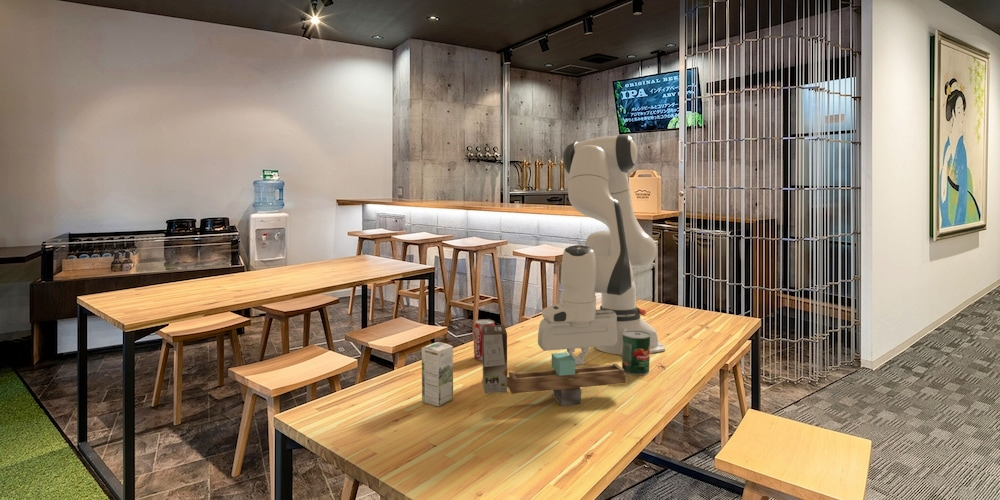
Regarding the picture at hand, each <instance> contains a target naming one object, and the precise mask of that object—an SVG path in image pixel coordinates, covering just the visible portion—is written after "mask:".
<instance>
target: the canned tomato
mask: <svg viewBox="0 0 1000 500" xmlns="http://www.w3.org/2000/svg"><path fill="white" fill-rule="evenodd" d="M622 345H623V347H622V355H621V357H622V358H621V361H622V362H621V367H622V368H623V369H624V373H625V374H629V375H633V376H643V375H644V376H645V375H647V374H649V373H650V360H651V359H650V356H651V353H650V334H649V333H647V332H644V331H636V330H631V331H625V332H623V344H622Z"/></svg>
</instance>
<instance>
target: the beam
mask: <svg viewBox="0 0 1000 500" xmlns="http://www.w3.org/2000/svg"><path fill="white" fill-rule="evenodd" d="M619 384H620V385H621V384H627V373H625V372H624V369H623V368H622V366H620V365H619V364H618V363H612V364H607V365H596V366H594V365H593V366H585V367H584V366H582V367H575V374H573V375H562V376H559V375H556V371H555V370H554V369H549V370H548V369H547V370H537V371H526V372H525V371H523V372H513V371H511V372H510V371H509V372H508V376H507V390H509V392H510V393H511V394H512V395H513V394H514V395H515V394H524V393H525V394H526V393H535V392H546V391H552V396H553V397H554V399H555V400H556V401H557V402H558V403H559V405H560V406H561V407H567V406H568V407H570V406H578V405H582V388H590V387H599V386H609V385H610V386H611V385H619Z"/></svg>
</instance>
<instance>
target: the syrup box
mask: <svg viewBox="0 0 1000 500" xmlns="http://www.w3.org/2000/svg"><path fill="white" fill-rule="evenodd" d="M453 399H454V346H453V345H451V344H448V343H445V342H439V341H438V342H433V343H431V344H428V345H425V346H422V347H421V401H422V403H425V404H428V405H432V406H435V407H442V406H443V405H445V404H447V403H448V402H450V401H452V400H453Z"/></svg>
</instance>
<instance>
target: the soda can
mask: <svg viewBox="0 0 1000 500" xmlns="http://www.w3.org/2000/svg"><path fill="white" fill-rule="evenodd" d="M491 325H495V321H494V320H492V319H486V318H485V319H484V318H483V319H478V320H476V321H475V325H474V326H473V355H474V358H475V359H477V360H478V361H480V362H483V359H482V326H491Z"/></svg>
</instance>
